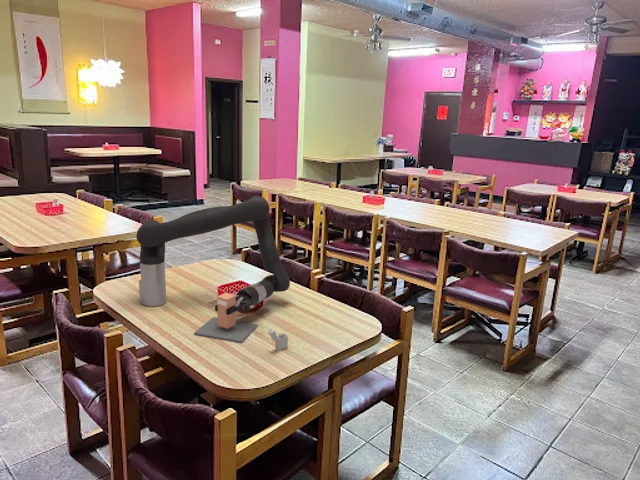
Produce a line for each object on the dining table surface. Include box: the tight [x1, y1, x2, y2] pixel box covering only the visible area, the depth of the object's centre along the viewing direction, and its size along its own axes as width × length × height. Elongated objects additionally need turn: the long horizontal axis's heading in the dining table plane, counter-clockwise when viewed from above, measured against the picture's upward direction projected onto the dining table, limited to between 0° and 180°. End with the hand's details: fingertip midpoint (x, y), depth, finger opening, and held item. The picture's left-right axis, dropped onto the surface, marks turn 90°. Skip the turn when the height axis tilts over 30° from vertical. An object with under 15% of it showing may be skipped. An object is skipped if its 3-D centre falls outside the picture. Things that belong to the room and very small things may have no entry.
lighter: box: [267, 328, 289, 352], centre depth 160 cm, size 7×2×8 cm, turn 132°
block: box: [216, 292, 237, 329], centre depth 171 cm, size 4×5×11 cm
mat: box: [194, 316, 259, 344], centre depth 173 cm, size 18×14×1 cm
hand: (221, 310), depth 169 cm, fingers closed on block, 4 cm apart
